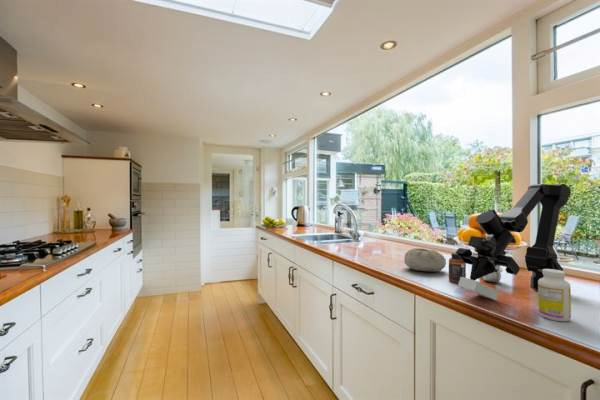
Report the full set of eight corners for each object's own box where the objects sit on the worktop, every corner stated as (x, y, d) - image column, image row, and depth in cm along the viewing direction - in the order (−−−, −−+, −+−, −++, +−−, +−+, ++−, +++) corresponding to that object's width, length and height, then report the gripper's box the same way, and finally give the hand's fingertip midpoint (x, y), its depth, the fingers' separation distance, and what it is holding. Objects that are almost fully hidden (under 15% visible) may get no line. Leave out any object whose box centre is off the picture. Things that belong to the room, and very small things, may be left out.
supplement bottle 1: (468, 284, 108) (468, 255, 108) (451, 283, 109) (451, 254, 109) (462, 280, 114) (462, 252, 114) (446, 279, 115) (446, 251, 115)
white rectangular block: (481, 285, 96) (460, 276, 93) (498, 291, 90) (477, 281, 88) (478, 294, 96) (458, 285, 93) (495, 300, 90) (474, 290, 87)
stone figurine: (480, 281, 112) (480, 231, 113) (483, 278, 117) (483, 230, 118) (499, 284, 108) (499, 233, 108) (502, 281, 113) (502, 231, 113)
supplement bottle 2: (554, 312, 80) (554, 267, 80) (578, 322, 74) (577, 273, 74) (531, 312, 80) (531, 267, 80) (553, 322, 73) (553, 273, 74)
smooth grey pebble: (433, 266, 140) (433, 246, 140) (454, 275, 122) (454, 252, 122) (398, 266, 139) (398, 246, 139) (414, 275, 121) (414, 252, 121)
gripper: (459, 225, 102) (435, 257, 98) (512, 230, 84) (485, 269, 80) (476, 246, 104) (453, 278, 100) (531, 255, 86) (505, 294, 83)
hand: (471, 279), depth 91 cm, fingers closed, pressing on white rectangular block
